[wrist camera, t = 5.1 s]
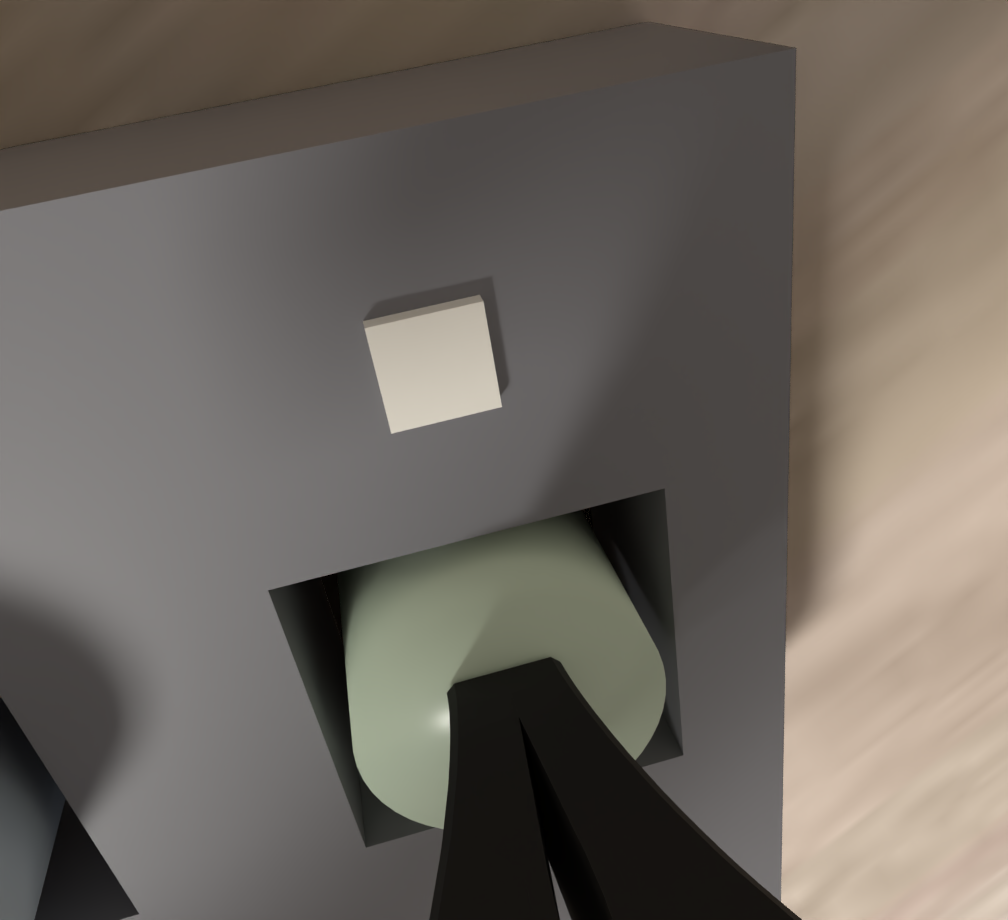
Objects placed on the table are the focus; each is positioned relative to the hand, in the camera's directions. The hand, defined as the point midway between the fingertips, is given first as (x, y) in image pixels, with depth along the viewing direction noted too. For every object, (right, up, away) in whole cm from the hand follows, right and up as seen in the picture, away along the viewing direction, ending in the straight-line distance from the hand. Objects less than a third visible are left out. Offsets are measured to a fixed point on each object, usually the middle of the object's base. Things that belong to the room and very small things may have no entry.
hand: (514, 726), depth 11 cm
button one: (-1, +2, +3) cm, 4 cm away
